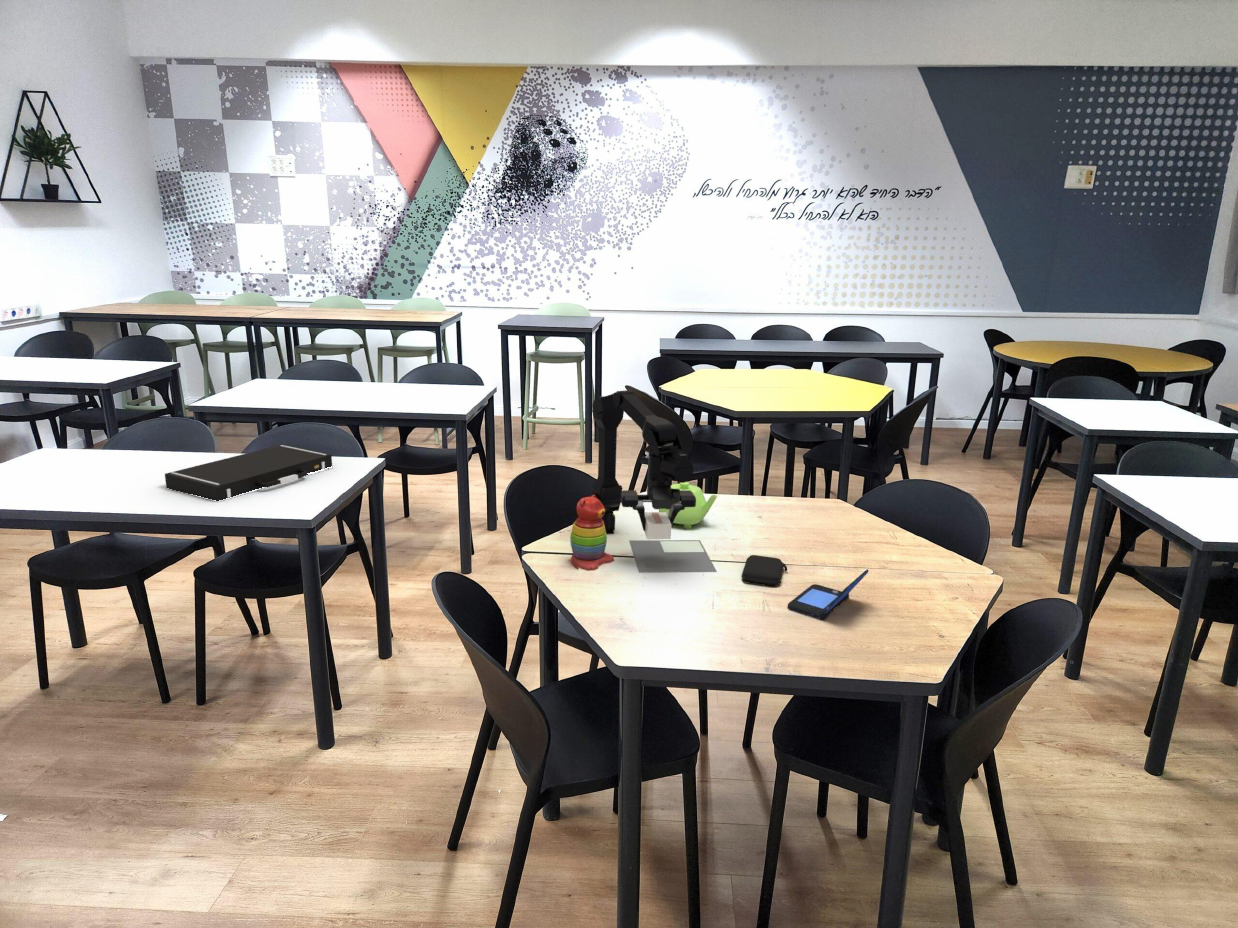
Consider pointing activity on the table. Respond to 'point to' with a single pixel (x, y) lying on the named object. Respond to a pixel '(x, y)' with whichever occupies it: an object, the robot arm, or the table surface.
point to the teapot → (692, 513)
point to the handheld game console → (821, 599)
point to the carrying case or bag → (763, 570)
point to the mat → (671, 556)
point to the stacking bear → (589, 535)
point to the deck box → (657, 525)
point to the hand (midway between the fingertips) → (656, 530)
